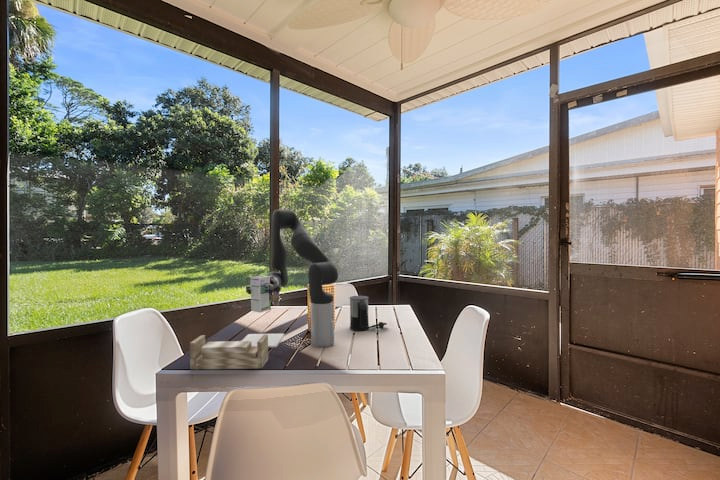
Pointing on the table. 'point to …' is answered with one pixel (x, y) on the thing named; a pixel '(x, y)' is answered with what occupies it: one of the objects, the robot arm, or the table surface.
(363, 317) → the milk frother
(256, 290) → the syrup box
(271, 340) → the white mat
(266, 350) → the offcut rack
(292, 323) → the table surface
